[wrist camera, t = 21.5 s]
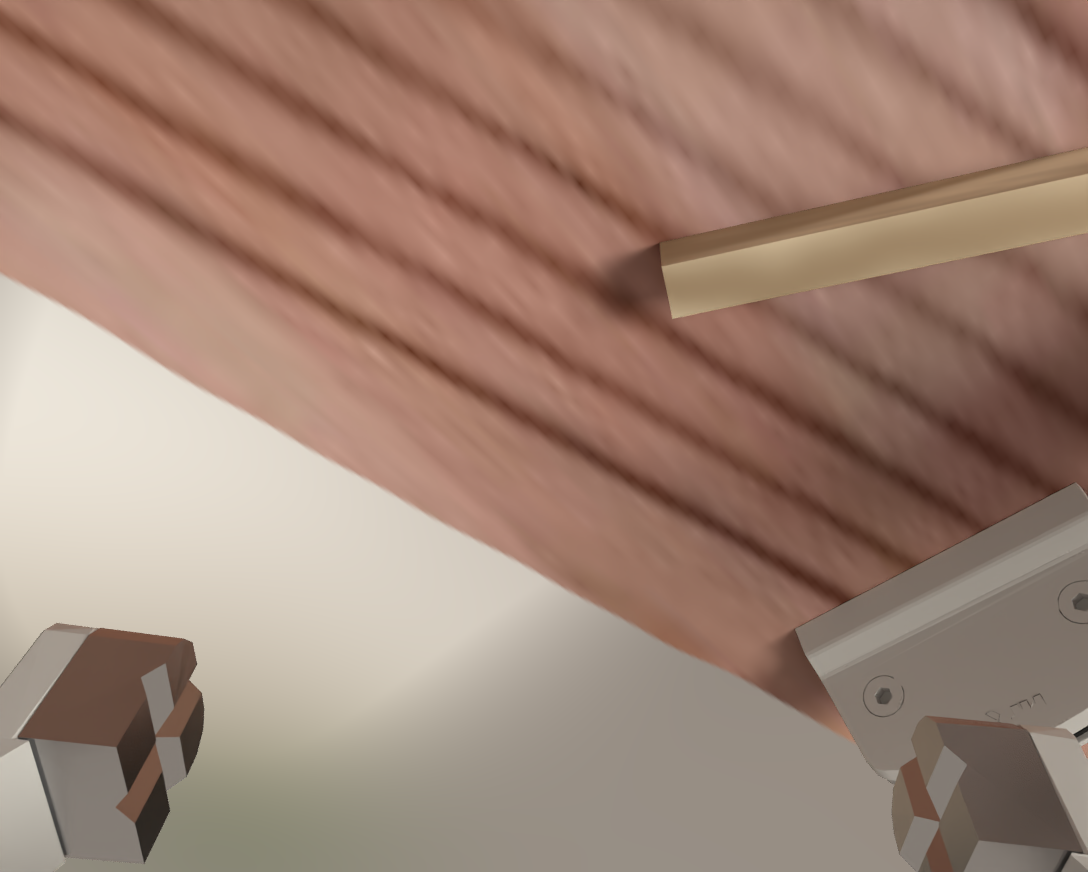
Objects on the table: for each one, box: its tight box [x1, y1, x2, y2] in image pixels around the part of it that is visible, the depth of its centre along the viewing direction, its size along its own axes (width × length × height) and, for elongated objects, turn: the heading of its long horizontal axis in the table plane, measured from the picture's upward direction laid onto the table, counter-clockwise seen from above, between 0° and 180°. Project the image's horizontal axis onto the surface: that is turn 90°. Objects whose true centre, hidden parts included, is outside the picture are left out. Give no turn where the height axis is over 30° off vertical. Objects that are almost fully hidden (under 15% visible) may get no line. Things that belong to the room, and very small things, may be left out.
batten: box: [660, 147, 1088, 319], centre depth 40 cm, size 2×19×3 cm, turn 105°
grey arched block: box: [795, 482, 1088, 785], centre depth 48 cm, size 17×5×10 cm, turn 130°
